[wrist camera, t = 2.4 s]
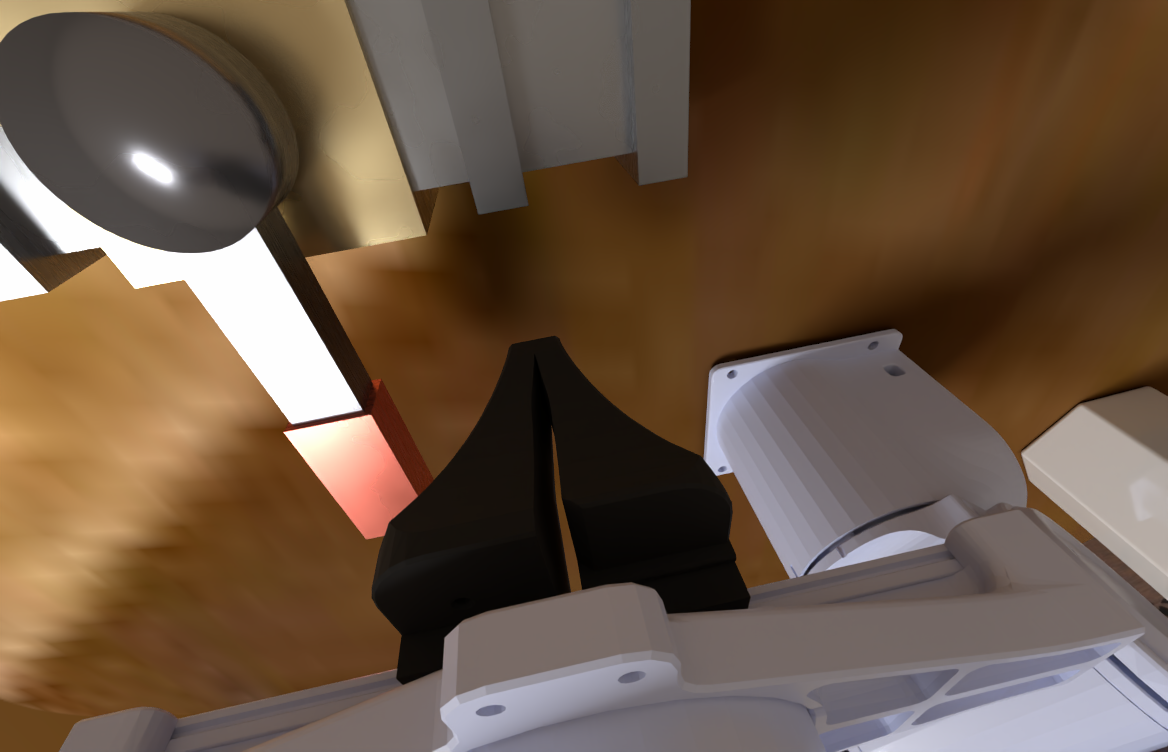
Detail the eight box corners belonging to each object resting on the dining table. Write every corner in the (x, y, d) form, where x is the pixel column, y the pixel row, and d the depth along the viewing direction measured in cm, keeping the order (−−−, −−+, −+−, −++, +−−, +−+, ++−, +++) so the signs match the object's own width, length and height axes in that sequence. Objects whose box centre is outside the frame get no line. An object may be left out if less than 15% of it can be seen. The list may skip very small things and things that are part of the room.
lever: (17, 29, 8) (-86, 33, 6) (232, -5, 8) (180, -6, 7) (356, 499, 16) (343, 545, 15) (458, 477, 16) (455, 521, 15)
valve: (622, -112, 12) (693, -175, 8) (634, 145, 15) (686, 193, 11) (-224, 13, 11) (-650, 17, 7) (10, 255, 14) (-173, 350, 10)
